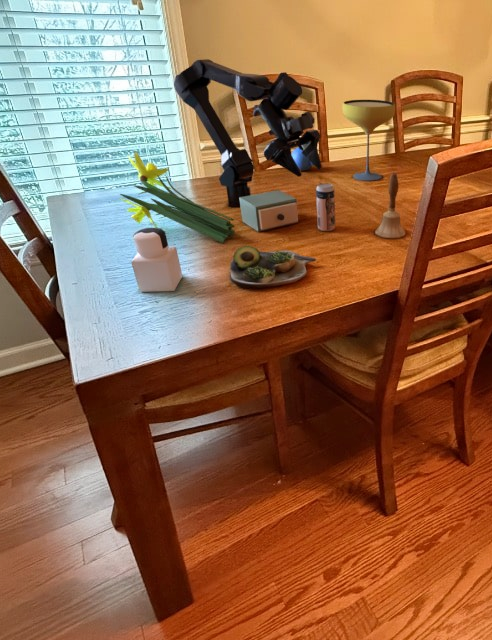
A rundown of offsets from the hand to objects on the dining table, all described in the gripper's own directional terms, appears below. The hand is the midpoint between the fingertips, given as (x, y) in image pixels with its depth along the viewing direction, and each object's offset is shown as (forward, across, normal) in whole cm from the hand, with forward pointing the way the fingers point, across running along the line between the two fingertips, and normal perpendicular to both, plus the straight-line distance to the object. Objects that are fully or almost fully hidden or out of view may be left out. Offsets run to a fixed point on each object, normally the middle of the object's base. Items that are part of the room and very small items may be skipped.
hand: (310, 172), depth 126 cm
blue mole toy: (-12, +45, +36) cm, 59 cm away
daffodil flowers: (-6, -24, +28) cm, 38 cm away
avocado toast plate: (+17, -33, +1) cm, 37 cm away
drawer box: (+4, -8, +16) cm, 18 cm away
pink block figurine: (+8, -49, +12) cm, 51 cm away
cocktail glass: (+4, +49, +17) cm, 52 cm away
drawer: (+5, -8, +14) cm, 17 cm away
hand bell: (+26, +4, -9) cm, 27 cm away
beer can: (+15, -3, +4) cm, 16 cm away
